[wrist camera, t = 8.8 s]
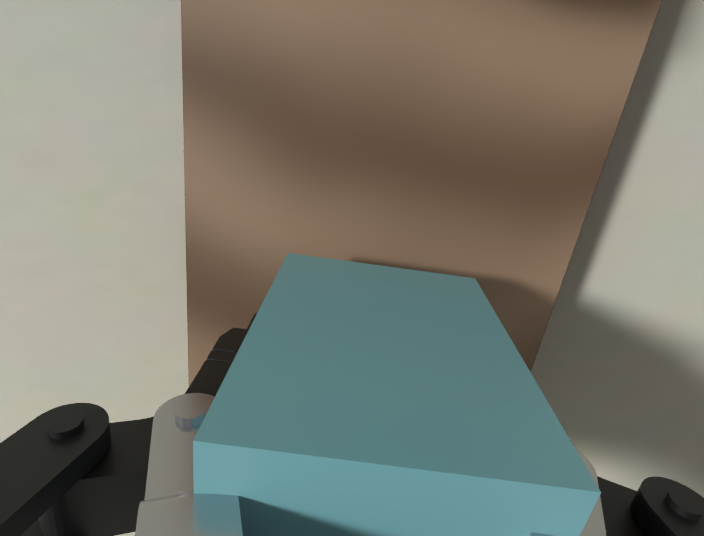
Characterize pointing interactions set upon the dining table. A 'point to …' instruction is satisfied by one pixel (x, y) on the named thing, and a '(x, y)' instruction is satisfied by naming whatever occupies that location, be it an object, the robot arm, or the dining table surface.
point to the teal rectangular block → (386, 414)
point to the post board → (397, 143)
